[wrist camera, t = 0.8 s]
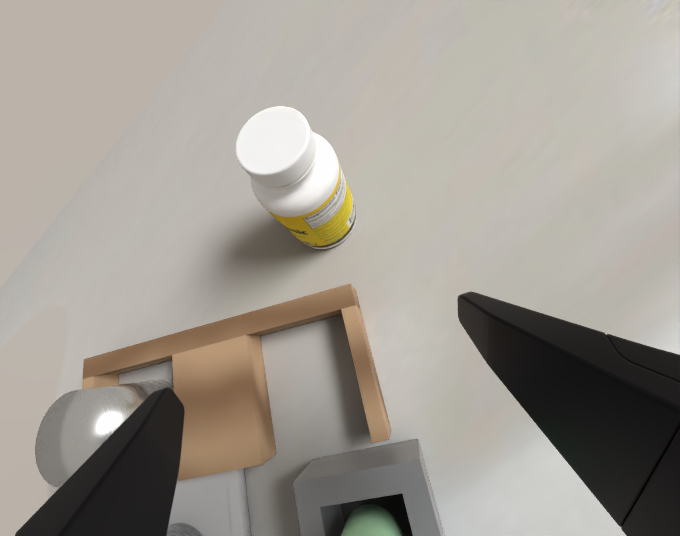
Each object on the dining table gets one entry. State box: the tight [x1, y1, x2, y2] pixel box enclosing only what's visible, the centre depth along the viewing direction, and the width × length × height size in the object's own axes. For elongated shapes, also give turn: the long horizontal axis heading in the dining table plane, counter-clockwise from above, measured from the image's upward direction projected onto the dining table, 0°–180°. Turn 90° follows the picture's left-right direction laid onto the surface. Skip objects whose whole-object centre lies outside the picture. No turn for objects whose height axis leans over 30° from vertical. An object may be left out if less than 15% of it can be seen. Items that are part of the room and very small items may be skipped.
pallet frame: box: [82, 284, 391, 481], centre depth 21 cm, size 10×22×2 cm, turn 103°
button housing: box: [293, 439, 445, 536], centre depth 16 cm, size 7×7×4 cm
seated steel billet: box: [35, 380, 174, 487], centre depth 20 cm, size 5×5×6 cm
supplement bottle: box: [236, 106, 357, 249], centre depth 19 cm, size 5×5×10 cm
